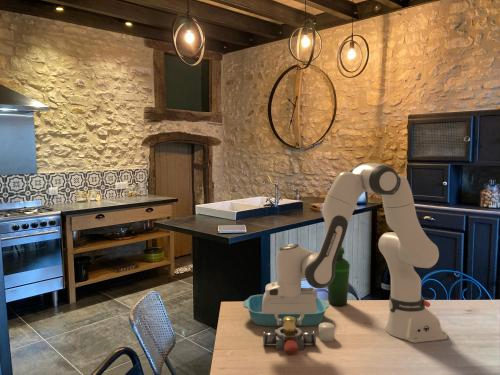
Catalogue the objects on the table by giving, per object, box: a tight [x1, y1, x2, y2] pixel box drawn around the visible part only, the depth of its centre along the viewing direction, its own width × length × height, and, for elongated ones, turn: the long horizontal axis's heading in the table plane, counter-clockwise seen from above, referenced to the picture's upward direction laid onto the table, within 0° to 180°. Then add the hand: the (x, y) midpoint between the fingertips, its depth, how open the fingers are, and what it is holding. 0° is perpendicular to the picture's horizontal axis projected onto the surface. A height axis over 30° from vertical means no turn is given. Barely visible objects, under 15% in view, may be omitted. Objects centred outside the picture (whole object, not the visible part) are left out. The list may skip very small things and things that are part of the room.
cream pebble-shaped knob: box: [318, 322, 336, 343], centre depth 154 cm, size 6×6×5 cm
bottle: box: [327, 245, 351, 307], centre depth 188 cm, size 11×11×28 cm
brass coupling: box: [282, 316, 297, 335], centre depth 148 cm, size 5×5×6 cm
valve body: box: [262, 326, 317, 356], centre depth 147 cm, size 19×12×5 cm, turn 90°
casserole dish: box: [242, 294, 330, 327], centre depth 173 cm, size 37×22×7 cm, turn 90°
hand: (289, 324), depth 148 cm, fingers open, 6 cm apart
